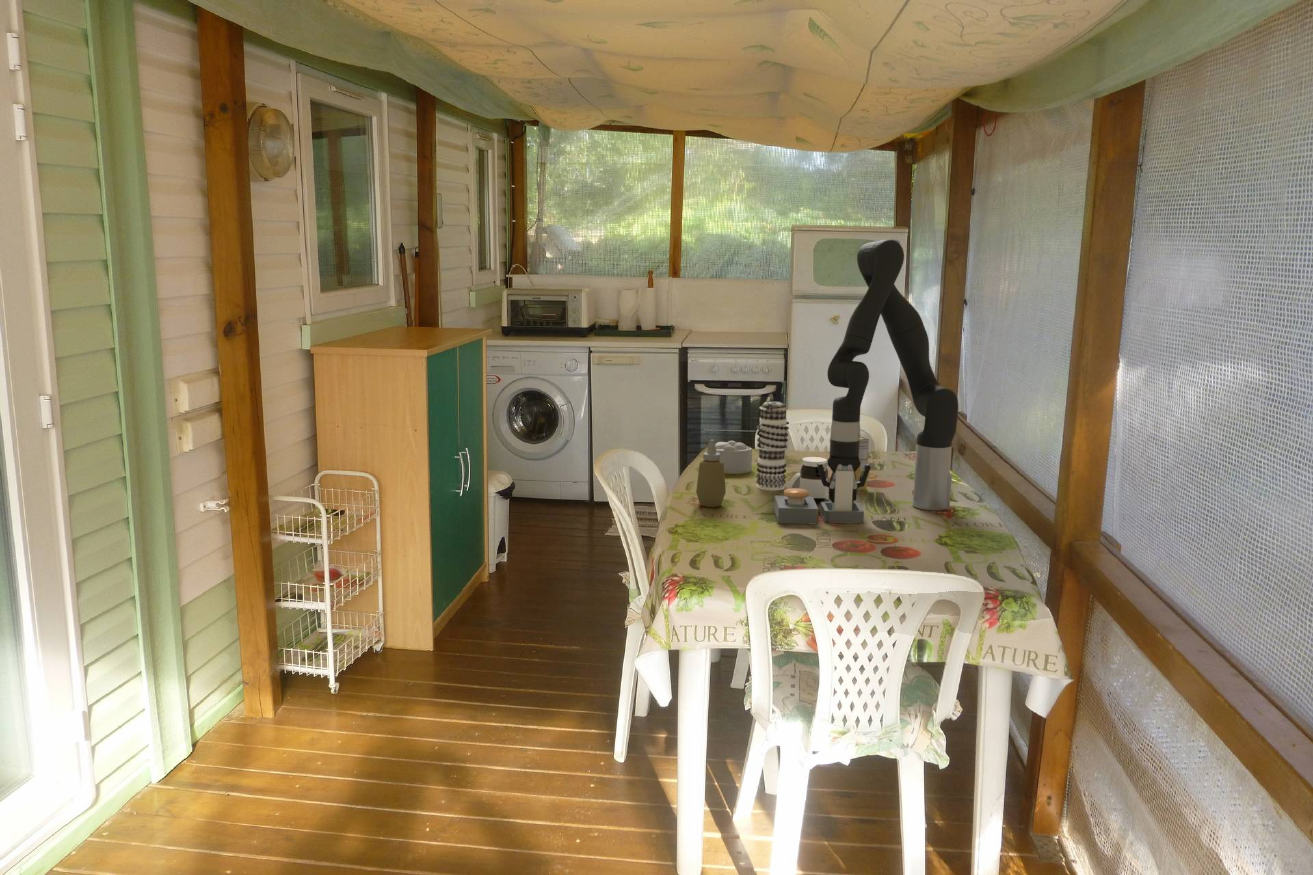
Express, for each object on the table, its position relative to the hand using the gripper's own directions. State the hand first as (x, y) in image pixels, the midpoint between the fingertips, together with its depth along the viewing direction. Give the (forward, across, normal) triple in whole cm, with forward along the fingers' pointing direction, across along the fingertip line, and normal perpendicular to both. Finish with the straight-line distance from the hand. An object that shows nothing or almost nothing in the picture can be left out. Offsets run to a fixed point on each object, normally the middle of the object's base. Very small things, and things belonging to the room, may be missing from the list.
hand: (842, 501), depth 270 cm
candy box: (+4, -8, -34) cm, 36 cm away
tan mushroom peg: (+3, +12, 0) cm, 12 cm away
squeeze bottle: (+5, +34, -10) cm, 36 cm away
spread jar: (+5, +7, -20) cm, 21 cm away
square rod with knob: (+4, 0, 0) cm, 4 cm away
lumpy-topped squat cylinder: (+5, +27, -54) cm, 61 cm away
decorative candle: (+5, +16, -32) cm, 37 cm away
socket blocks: (+4, +6, 0) cm, 7 cm away
